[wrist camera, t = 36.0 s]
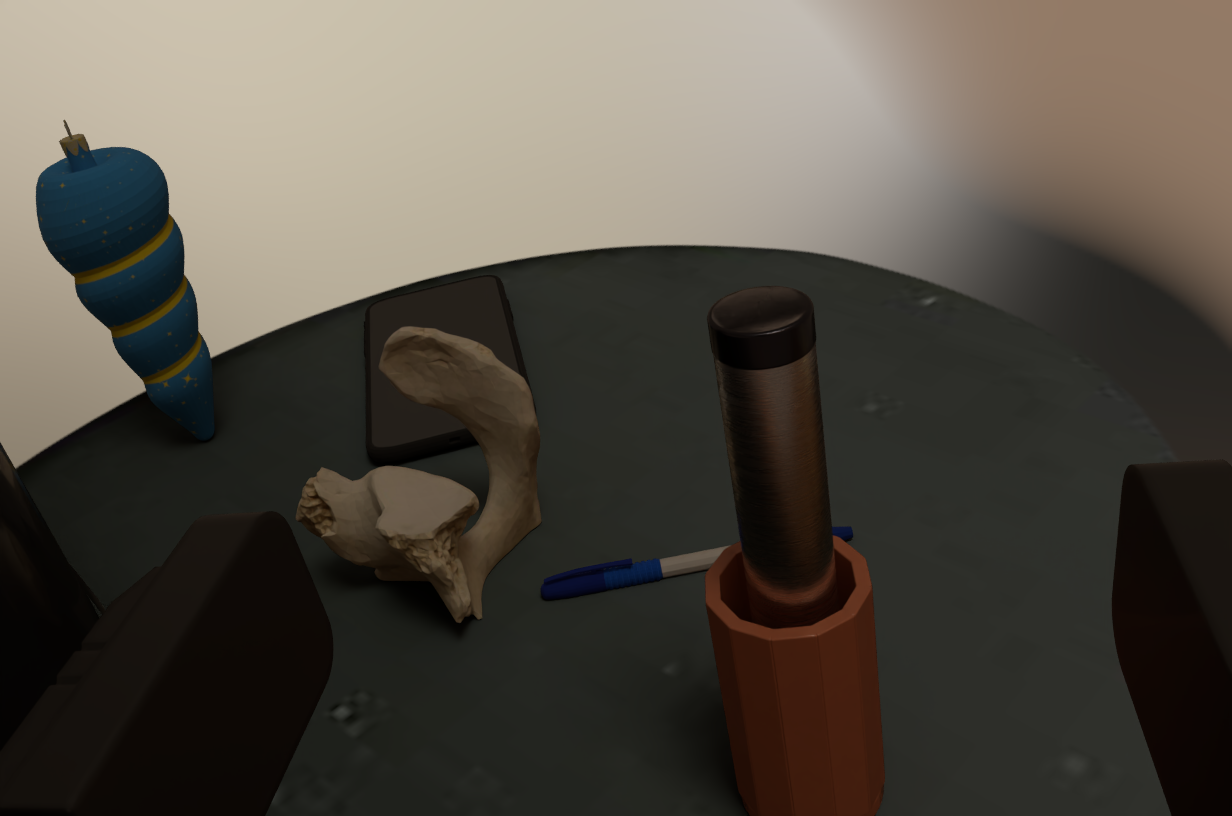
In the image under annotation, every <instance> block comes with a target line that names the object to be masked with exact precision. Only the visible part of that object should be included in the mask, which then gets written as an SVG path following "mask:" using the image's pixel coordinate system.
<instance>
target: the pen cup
mask: <svg viewBox="0 0 1232 816" xmlns="http://www.w3.org/2000/svg"><path fill="white" fill-rule="evenodd" d="M833 545H834V556H835V567H836V579H837V590H838V601H839V611H838V612H836V613H834V614H832V615H830V616H828V617H827V618H825V619H823V620H821V621H819V622H817V623H815V624H813V625H811V626H801V627H791V628H780V629H771V628H768V627H765V626H761V625H758V624H754V623H752V617H751V611H750V604H749V597H748V590H747V583H746V576H745V569H744V562H743V556H742V549H741V542H740V541H739V542H737V543H735V544H733V545H731V546H729V547H727V548H726V549H724V550H723V552H722V553H721V554H720V556H719V557H718V558H717V559H716V561H715V562H714V563H713V565H712V566H711V567H710V569H709V570H708V571H707V573H706V575H705V598H706V608H707V614H708V619H709V625H710V631H711V637H712V643H713V648H714V654H715V660H716V666H717V671H718V677H719V683H720V689H721V694H722V700H723V706H724V712H725V718H726V723H727V729H728V735H729V741H730V746H731V752H732V758H733V764H734V770H735V775H736V781H737V787H738V791H739V793H740V796H741V799H742V802H743V805H744V807H745V809H746V811H747V812H748V814H749V815H750V816H875V814H876V812H877V811H878V809H879V807H880V804H881V801H882V798H883V793H884V782H885V770H884V755H883V740H882V725H881V710H880V695H879V680H878V665H877V650H876V635H875V620H874V605H873V590H872V583H871V579H870V574H869V570H868V566H867V561H866V559H865V558H864V557H863V556H862V555H861V554H860V553H858V552H857V551H856V550H855V549H853V548H852V547H851V546H850V545H848V544H847V543H846V542H845V541H844V540H842V539H841V538H840V537H838V536H834V535H833Z"/></svg>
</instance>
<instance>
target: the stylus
mask: <svg viewBox="0 0 1232 816" xmlns="http://www.w3.org/2000/svg"><path fill="white" fill-rule="evenodd" d="M707 322H708V329H709V336H710V343H711V349H712V353H713V356H714V363H715V370H716V377H717V384H718V390H719V397H720V404H721V411H722V418H723V425H724V432H725V439H726V446H727V452H728V459H729V466H730V473H731V480H732V487H733V494H734V501H735V507H736V514H737V521H738V528H739V535H740V542H741V549H742V556H743V562H744V569H745V576H746V583H747V590H748V597H749V604H750V611H751V617H752V623H754V624H758V625H761V626H765V627H768V628H771V629H780V628H791V627H801V626H811V625H813V624H815V623H817V622H819V621H821V620H823V619H825V618H827V617H828V616H830V615H832V614H834V613H836V612H838V611H839V601H838V590H837V579H836V567H835V556H834V545H833V534H832V522H831V511H830V500H829V488H828V477H827V466H826V454H825V443H824V432H823V421H822V409H821V398H820V387H819V375H818V364H817V353H816V330H815V318H814V307H813V303H812V301H811V299H810V298H809V297H808V296H807V295H806V294H804V293H803V292H801V291H799V290H796V289H792V288H788V287H781V286H761V287H754V288H748V289H744V290H740V291H737V292H734V293H731V294H729V295H727V296H725V297H723V298H721V299H720V300H718V301H717V302H716V303H715V304H714V305H713V306H712V307H711V308H710V310H709V313H708V316H707Z"/></svg>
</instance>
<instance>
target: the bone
mask: <svg viewBox="0 0 1232 816" xmlns="http://www.w3.org/2000/svg"><path fill="white" fill-rule="evenodd" d="M379 369H380V370H381V371H382V372H383V373H384V374H385V376H386V377H387V378H388V379H389V380H390V382H391V384H392V385H393V386H394V387H395V388H396V389H397V391H398V392H399V393H400V394H402V395H403V396H404V397H406V398H407V399H409V400H410V401H412V402H416V403H419V404H422V405H426V406H429V407H433V408H437V409H441V410H443V411H445V412H447V413H449V414H450V415H452V416H454V417H455V418H457V419H458V420H459V421H460V422H462V423H463V424H464V425H465V426H466V427H467V428H468V430H469V431H470V432H471V434H472V435H473V436H474V437H475V439H476V440H477V442H478V443H479V445H480V446H481V449H482V451H483V453H484V456H485V459H486V462H487V465H488V469H489V492H488V497H487V501H486V505H485V507H484V509H483V512H482V514H481V516H480V518H479V520H478V521H477V523H476V524H475V525H474V526H473V527H472V528H471V529H470V530H469V531H468V532H467V533H465V534H464V535H462V533H463V531H464V528H465V526H466V523H467V520H468V518H469V517H470V516H471V515H474V514H475V513H476V511H477V510H478V508H479V501H478V498H477V497H476V495H475V494H474V493H473V492H472V491H471V490H470V489H468V488H466V487H464V486H462V485H460V484H458V483H456V482H454V481H453V480H451V479H448V478H445V477H441V476H437V475H432V474H429V473H426V472H423V471H419V470H414V469H410V468H405V467H397V466H383V467H379V468H377V469H374V470H371V471H370V472H369V473H368V474H367V475H365V476H364V477H363V478H362V479H360V480H356V481H351V480H349V479H347V478H345V477H342V476H340V475H339V474H338V473H336V472H333V471H331V470H328V469H325V468H322V467H321V470H320V471H319V472H318V473H317V477H314V478H310V479H309V480H308V481H307V483H306V484H305V487H304V488H303V491H302V498H301V500H300V502H299V504H298V507H297V515H296V518H295V519H296V520H297V521H298V522H302V524H303V525H304V526H305V527H306V529H307V530H309V531H310V532H311V533H313V534H314V535H316V536H318V537H320V538H322V539H323V540H324V541H325V543H326V544H327V545H328V546H329V548H330V549H331V550H332V551H333V552H334V553H336V554H337V555H339V556H341V557H343V558H345V559H347V560H349V561H351V562H352V563H354V564H356V565H359V566H361V565H365V566H368V567H372V568H376V570H375V572H374V573H375V574H376V576H377V577H378V578H379V579H380V580H383V581H430V582H431V583H432V585H433V586H434V588H435V589H436V591H437V592H438V594H439V595H440V597H441V599H442V600H443V602H444V603H445V605H446V607H447V608H448V610H449V611H450V613H451V615H452V616H453V618H454V619H455V621H456V622H457V623H461V622H462V620H463V619H464V617H466V616H468V617H469V616H470V615H471V614H474V615H475V617H476V618H477V619H478V620H479V619H481V618H482V603H481V595H482V588H483V584H484V582H485V579H486V577H487V575H488V574H489V573H490V571H491V570H492V568H493V567H494V566H495V565H496V564H497V563H498V562H499V561H500V560H501V559H502V558H503V557H504V556H505V555H506V554H507V553H508V552H509V551H511V550H512V549H513V548H514V546H515V545H516V544H518V543H519V542H520V541H521V540H522V539H523V537H525V536H526V535H527V534H528V533H529V532H530V531H531V530H533V529H534V528H536V527H537V526H538V525H539V524H540V523H541V514H540V506H539V501H538V498H537V479H536V467H537V457H538V452H539V448H540V433H539V427H538V421H537V418H536V414H535V410H534V404H533V397H532V394H531V391H530V389H529V387H528V385H527V383H526V381H525V379H524V378H523V377H522V376H520V375H519V374H517V373H516V372H514V371H513V370H512V369H510V368H509V367H507V366H506V365H504V364H503V363H502V362H500V361H499V360H498V359H497V358H496V357H495V355H494V354H493V352H492V351H491V350H490V349H489V348H487V347H485V346H483V345H482V344H480V343H478V342H475V341H473V340H470V339H467V338H463V337H459V336H455V335H451V334H447V333H444V332H442V331H439V330H437V329H433V328H419V327H411V326H409V327H401V328H400V329H399V330H397V331H396V332H394V333H393V334H392V335H391V336H390V337H389V339H388V340H387V341H386V343H385V345H384V350H383V353H382V356H381V359H380V363H379ZM461 535H462V536H461ZM460 536H461V537H460Z"/></svg>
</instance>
